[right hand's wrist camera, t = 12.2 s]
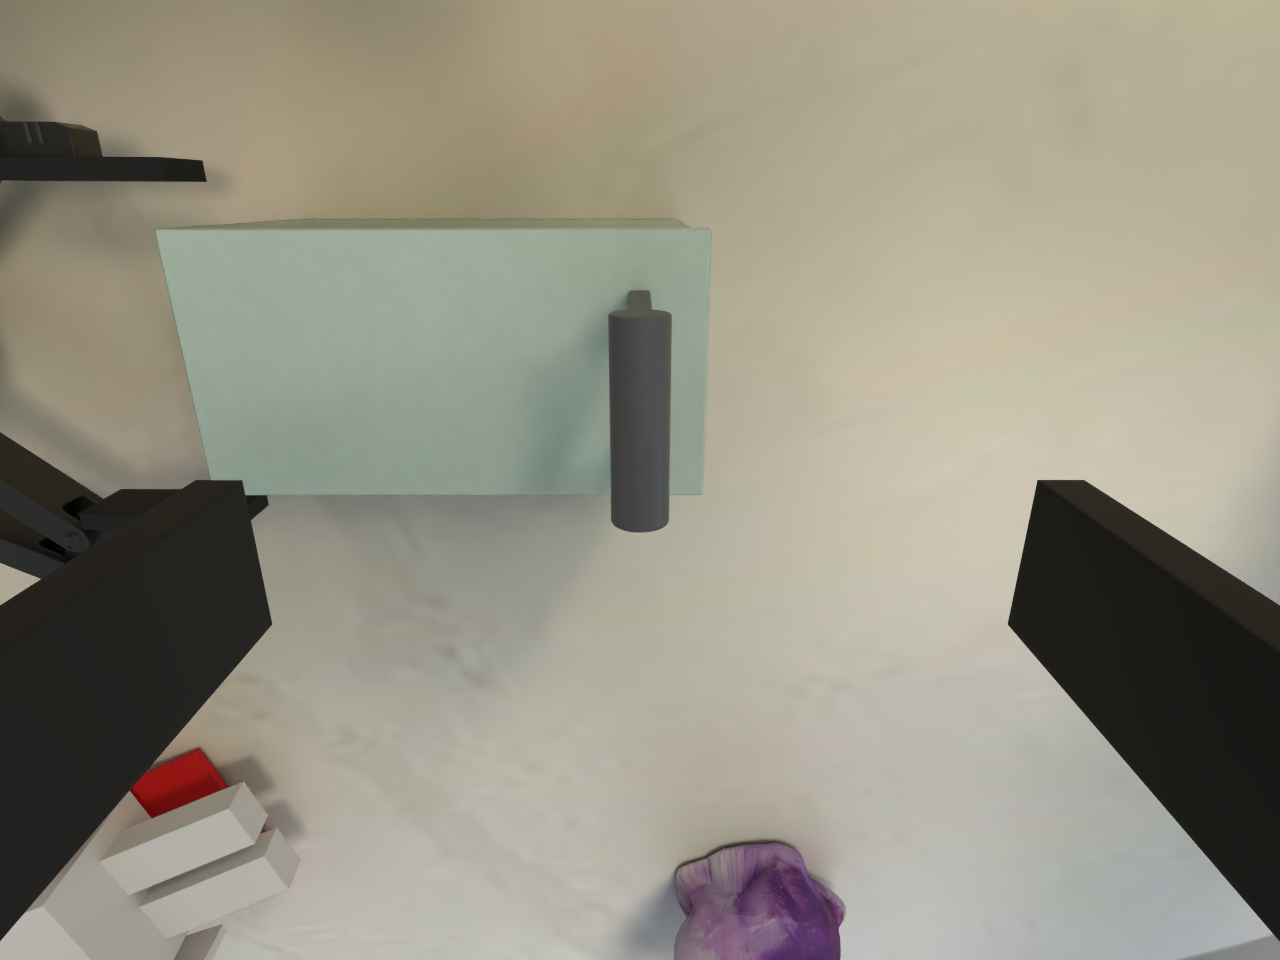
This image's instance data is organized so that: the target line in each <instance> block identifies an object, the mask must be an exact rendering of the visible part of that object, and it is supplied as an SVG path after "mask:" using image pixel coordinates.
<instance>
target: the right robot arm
mask: <svg viewBox="0 0 1280 960" xmlns="http://www.w3.org/2000/svg"><path fill="white" fill-rule="evenodd" d="M271 625H272V621H271V616H270V611H269V606H268V602H267V597H266V592H265V587H264V582H263V577H262V573H261V568H260V563H259V558H258V553H257V548H256V544H255V539H254V534H253V529H252V524H251V520H250V515H249V510H248V505H247V500H246V495H245V491H244V486H243V481H242V480H195V481H194V482H192V483H191V484H189V485H188V486H186V487H184V488H183V489H181V490H180V491H178V492H177V493H175V494H174V495H172V496H170V497H169V498H167V499H166V500H164V501H163V502H161V503H159V504H158V505H156V506H155V507H153V508H152V509H150V510H149V511H147V512H145V513H144V514H142V515H141V516H139V517H138V518H136V519H135V520H133V521H131V522H130V523H128V524H127V525H125V526H124V527H122V528H120V529H119V530H117V531H116V532H114V533H113V534H111V535H110V536H108V537H106V538H105V539H103V540H102V541H100V542H99V543H97V544H95V545H94V546H92V547H91V548H89V549H88V550H86V551H85V552H83V553H81V554H80V555H78V556H77V557H75V558H74V559H72V560H70V561H69V562H67V563H66V564H64V565H63V566H61V567H60V568H58V569H56V570H55V571H53V572H52V573H50V574H49V575H47V576H46V577H44V578H42V579H41V580H39V581H38V582H36V583H35V584H33V585H31V586H30V587H28V588H27V589H25V590H24V591H22V592H21V593H19V594H17V595H16V596H14V597H13V598H11V599H10V600H8V601H6V602H5V603H3V604H2V605H0V941H1V940H2V939H3V938H4V936H5V935H6V934H7V933H8V932H9V931H10V929H11V928H12V927H13V926H14V925H15V924H16V922H17V921H18V920H19V919H20V918H21V917H22V915H23V914H24V913H25V912H26V911H27V910H28V908H29V907H30V906H31V905H32V904H33V903H34V901H35V900H36V899H37V898H38V897H39V896H40V894H41V893H42V892H43V891H44V890H45V889H46V887H47V886H48V885H49V884H50V883H51V882H52V880H53V879H54V878H55V877H56V876H57V875H58V873H59V872H60V871H61V870H62V869H63V868H64V866H65V865H66V864H67V863H68V862H69V861H70V859H71V858H72V857H73V856H74V855H75V854H76V852H77V851H78V850H79V849H80V848H81V847H82V845H83V844H84V843H85V842H86V841H87V840H88V838H89V837H90V836H91V835H92V834H93V833H94V831H95V830H96V829H97V828H98V827H99V826H100V824H101V823H102V822H103V821H104V820H105V819H106V817H107V816H108V815H109V814H110V813H111V812H112V810H113V809H114V808H115V807H116V806H117V805H118V803H119V802H120V801H121V800H122V799H123V798H124V797H125V795H126V794H127V793H128V792H129V791H130V790H131V788H132V787H133V786H134V785H135V784H136V783H137V781H138V780H139V779H140V778H141V777H142V776H143V774H144V773H145V772H146V771H147V770H148V769H149V767H150V766H151V765H152V764H153V763H154V762H155V760H156V759H157V758H158V757H159V756H160V755H161V753H162V752H163V751H164V750H165V749H166V748H167V746H168V745H169V744H170V743H171V742H172V741H173V739H174V738H175V737H176V736H177V735H178V734H179V732H180V731H181V730H182V729H183V728H184V727H185V725H186V724H187V723H188V722H189V721H190V720H191V718H192V717H193V716H194V715H195V714H196V713H197V711H198V710H199V709H200V708H201V707H202V706H203V704H204V703H205V702H206V701H207V700H208V699H209V697H210V696H211V695H212V694H213V693H214V692H215V690H216V689H217V688H218V687H219V686H220V685H221V683H222V682H223V681H224V680H225V679H226V678H227V676H228V675H229V674H230V673H231V672H232V671H233V669H234V668H235V667H236V666H237V665H238V664H239V662H240V661H241V660H242V659H243V658H244V657H245V655H246V654H247V653H248V652H249V651H250V650H251V648H252V647H253V646H254V645H255V644H256V643H257V641H258V640H259V639H260V638H261V637H262V636H263V635H264V633H265V632H266V631H267V630H268V629H269V628H270V626H271ZM1008 625H1009V626H1010V628H1011V629H1012V630H1013V631H1014V632H1015V633H1016V635H1017V636H1018V637H1019V638H1020V639H1021V640H1022V642H1023V643H1024V644H1025V645H1026V646H1027V647H1028V648H1029V650H1030V651H1031V652H1032V653H1033V654H1034V655H1035V657H1036V658H1037V659H1038V660H1039V661H1040V662H1041V664H1042V665H1043V666H1044V667H1045V668H1046V669H1047V671H1048V672H1049V673H1050V674H1051V675H1052V676H1053V678H1054V679H1055V680H1056V681H1057V682H1058V683H1059V685H1060V686H1061V687H1062V688H1063V689H1064V690H1065V692H1066V693H1067V694H1068V695H1069V696H1070V697H1071V699H1072V700H1073V701H1074V702H1075V703H1076V704H1077V706H1078V707H1079V708H1080V709H1081V710H1082V711H1083V713H1084V714H1085V715H1086V716H1087V717H1088V718H1089V720H1090V721H1091V722H1092V723H1093V724H1094V725H1095V727H1096V728H1097V729H1098V730H1099V731H1100V732H1101V734H1102V735H1103V736H1104V737H1105V738H1106V739H1107V741H1108V742H1109V743H1110V744H1111V745H1112V746H1113V748H1114V749H1115V750H1116V751H1117V752H1118V753H1119V755H1120V756H1121V757H1122V758H1123V759H1124V760H1125V762H1126V763H1127V764H1128V765H1129V766H1130V767H1131V769H1132V770H1133V771H1134V772H1135V773H1136V774H1137V776H1138V777H1139V778H1140V779H1141V780H1142V781H1143V783H1144V784H1145V785H1146V786H1147V787H1148V788H1149V790H1150V791H1151V792H1152V793H1153V794H1154V795H1155V797H1156V798H1157V799H1158V800H1159V801H1160V802H1161V804H1162V805H1163V806H1164V807H1165V808H1166V809H1167V810H1168V812H1169V813H1170V814H1171V815H1172V816H1173V817H1174V819H1175V820H1176V821H1177V822H1178V823H1179V824H1180V826H1181V827H1182V828H1183V829H1184V830H1185V831H1186V833H1187V834H1188V835H1189V836H1190V837H1191V838H1192V840H1193V841H1194V842H1195V843H1196V844H1197V845H1198V847H1199V848H1200V849H1201V850H1202V851H1203V852H1204V854H1205V855H1206V856H1207V857H1208V858H1209V859H1210V861H1211V862H1212V863H1213V864H1214V865H1215V866H1216V868H1217V869H1218V870H1219V871H1220V872H1221V873H1222V875H1223V876H1224V877H1225V878H1226V879H1227V880H1228V882H1229V883H1230V884H1231V885H1232V886H1233V887H1234V889H1235V890H1236V891H1237V892H1238V893H1239V894H1240V896H1241V897H1242V898H1243V899H1244V900H1245V901H1246V903H1247V904H1248V905H1249V906H1250V907H1251V908H1252V910H1253V911H1254V912H1255V913H1256V914H1257V915H1258V917H1259V918H1260V919H1261V920H1262V921H1263V922H1264V924H1265V925H1266V926H1267V927H1268V928H1269V929H1270V931H1271V932H1272V933H1273V934H1274V935H1275V936H1276V937H1277V939H1278V940H1279V941H1280V605H1278V604H1277V603H1275V602H1274V601H1272V600H1270V599H1269V598H1267V597H1266V596H1264V595H1263V594H1261V593H1259V592H1258V591H1256V590H1255V589H1253V588H1252V587H1250V586H1249V585H1247V584H1245V583H1244V582H1242V581H1241V580H1239V579H1238V578H1236V577H1234V576H1233V575H1231V574H1230V573H1228V572H1227V571H1225V570H1224V569H1222V568H1220V567H1219V566H1217V565H1216V564H1214V563H1213V562H1211V561H1210V560H1208V559H1206V558H1205V557H1203V556H1202V555H1200V554H1199V553H1197V552H1195V551H1194V550H1192V549H1191V548H1189V547H1188V546H1186V545H1185V544H1183V543H1181V542H1180V541H1178V540H1177V539H1175V538H1174V537H1172V536H1170V535H1169V534H1167V533H1166V532H1164V531H1163V530H1161V529H1160V528H1158V527H1156V526H1155V525H1153V524H1152V523H1150V522H1149V521H1147V520H1145V519H1144V518H1142V517H1141V516H1139V515H1138V514H1136V513H1135V512H1133V511H1131V510H1130V509H1128V508H1127V507H1125V506H1124V505H1122V504H1121V503H1119V502H1117V501H1116V500H1114V499H1113V498H1111V497H1110V496H1108V495H1106V494H1105V493H1103V492H1102V491H1100V490H1099V489H1097V488H1096V487H1094V486H1092V485H1091V484H1089V483H1088V482H1086V481H1085V480H1038V481H1037V486H1036V491H1035V495H1034V500H1033V505H1032V510H1031V515H1030V520H1029V524H1028V529H1027V534H1026V539H1025V544H1024V548H1023V553H1022V558H1021V563H1020V568H1019V573H1018V577H1017V582H1016V587H1015V592H1014V597H1013V602H1012V606H1011V611H1010V616H1009V621H1008Z"/></svg>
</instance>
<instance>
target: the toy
mask: <svg viewBox="0 0 1280 960" xmlns="http://www.w3.org/2000/svg"><path fill="white" fill-rule="evenodd" d="M267 817H268V814H267V813H266V811H265V810H264V809H263V807H262V806H261V804H260V803H259V802H258V800H257V799H256V798H255V796H254V795H253V793H252V792H251V791H250V789H249V788H248V786H247V785H246V784H245V782H244V781H243V782H240V783H238V784H235V785H233V786H231V787H228V785H227V784H226V783H225V782H224V780H223V779H222V778H221V776H220V775H219V774H218V773H217V771H216V770H215V769H214V767H213V766H212V765H211V764H210V762H209V761H208V760H207V758H206V757H205V756H204V754H203V753H202V752H201V751H200V749H197V750H195V751H193V752H190V753H188V754H186V755H184V756H182V757H179V758H177V759H175V760H173V761H170V762H168V763H166V764H164V765H161V766H159V767H157V768H155V769H153V770H150V771H148V772H146V773H144V774H143V776H142V777H141V778H140V779H139V780H138V781H137V783H136V784H135V785H134V786H133V787H132V788H131V790H130V791H129V792H128V793H127V794H126V795H125V797H124V798H123V799H122V800H121V801H120V802H119V803H118V805H117V806H116V807H115V808H114V809H113V810H112V812H111V813H110V814H109V815H108V816H107V817H106V819H105V820H104V821H103V822H102V823H101V824H100V826H99V827H98V828H97V829H96V830H95V831H94V833H93V834H92V835H91V836H90V837H89V838H88V840H87V841H86V842H85V843H84V844H83V845H82V847H81V848H80V849H79V850H78V851H77V852H76V854H75V855H74V856H73V857H72V858H71V859H70V861H69V862H68V863H67V864H66V865H65V866H64V868H63V869H62V870H61V871H60V872H59V873H58V875H57V876H56V877H55V878H54V879H53V880H52V882H51V883H50V884H49V885H48V886H47V887H46V889H45V890H44V891H43V892H42V893H41V894H40V896H39V897H38V898H37V899H36V900H35V901H34V903H33V904H32V905H31V906H30V907H29V908H28V910H27V911H26V912H25V913H24V914H23V915H22V917H21V918H20V919H19V920H18V921H17V922H16V924H15V925H14V926H13V927H12V928H11V929H10V931H9V932H8V933H7V934H6V935H5V936H4V938H3V939H2V940H1V941H0V960H212V959H213V957H214V955H215V953H216V951H217V949H218V947H219V945H220V942H221V940H222V938H223V936H224V934H225V932H226V929H225V928H224V926H223V925H219V926H216V927H212V928H209V929H206V930H203V931H200V932H196V933H193V934H190V935H187V933H188V931H189V930H191V929H193V928H196V927H198V926H201V925H203V924H206V923H208V922H210V921H213V920H215V919H218V918H220V917H223V916H225V915H228V914H230V913H232V912H235V911H237V910H240V909H242V908H245V907H247V906H250V905H252V904H254V903H257V902H259V901H262V900H264V899H267V898H269V897H271V896H274V895H276V894H279V893H281V892H284V891H286V890H289V887H290V885H291V882H292V880H293V877H294V874H295V872H296V869H297V867H298V864H299V862H300V859H299V857H298V856H297V854H296V853H295V852H294V850H293V849H292V847H291V846H290V845H289V843H288V842H287V841H286V839H285V838H284V836H283V835H282V834H281V832H280V831H279V829H278V828H277V827H276V828H274V829H272V830H269V831H267V832H263V831H262V828H263V826H264V823H265V821H266V819H267ZM186 935H187V936H186Z"/></svg>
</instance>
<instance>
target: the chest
mask: <svg viewBox="0 0 1280 960" xmlns="http://www.w3.org/2000/svg"><path fill="white" fill-rule="evenodd" d="M179 228H691V227H690V226H688V225H686V224H685V223H683V222H681V221H680V220H678V219H295V220H281V221H266V222H252V223H237V224H223V225H208V226H194V227H179Z"/></svg>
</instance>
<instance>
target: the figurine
mask: <svg viewBox="0 0 1280 960" xmlns="http://www.w3.org/2000/svg"><path fill="white" fill-rule="evenodd" d="M676 884H677V885H676V887H677V888H676V890H677V891H676V892H677V894H676V895H677V900H678V901H679V904H680V906H681V908H682V910H683V912H684V914H685V915H686V917H687V919H686V920H685V921H684V923H683V924H682V926H681V928H680V930H679V932H678V934H677V936H676V941H675V947H674V960H840V936H839V929H838V928H839V926H840V925H841V923H842V922H843V921H844V919H845V915H846V907H845V904H844V902H843V901H842V900H841V899H840V897H839V896H838V895H836V894H835V893H834V892H832V891H831V890H829V889H828V888H827V887H825V886H823V885H822V884H820V883H818V882H816V881H815V880H813V879H812V878H810V877H809V876H808V875H807V872H806V867H805V864H804V861H803V858H802V856H801V855H800V854H799V853H798V852H797V851H796V850H795V849H794V848H791V847H788V846H786V845H784V844H782V843H776V842H773V843H768V844H751V845H740V846H734V847H729V848H723V849H722V850H720V851H718V852H716V853H714V854H712V855H710V856H708V857H707V858H706V859H702V860H700V861H695V862H693V863H689V864H687V865H685V866H683V867H680V868H679V869H678V871H677V873H676Z"/></svg>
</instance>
